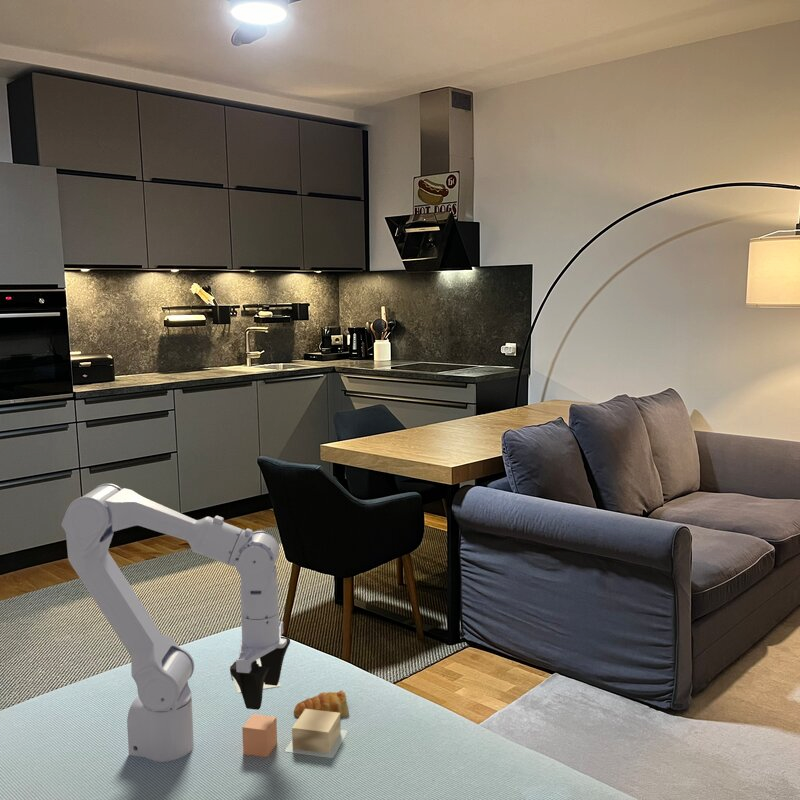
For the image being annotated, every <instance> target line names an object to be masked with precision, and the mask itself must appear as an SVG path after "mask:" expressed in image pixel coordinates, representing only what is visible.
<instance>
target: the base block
mask: <svg viewBox="0 0 800 800" xmlns="http://www.w3.org/2000/svg"><path fill="white" fill-rule="evenodd" d="M341 730H342V728H341V717H340V713H337V712H329V711H321V710H312V709H305V710H304V711H303V713H302V714H301V716H300V717H299V718H297V720H296V721H295V723H294V724H293V726H292V727H291V735H292V737H291V741H292V745H293V749H298V750H306V751H313V752H321V753H329V752H330V751H331V749H332V747H333V746H334V744H335V742H336V740H337V739H338V737H339V735H340V733H341Z"/></svg>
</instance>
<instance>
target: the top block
mask: <svg viewBox="0 0 800 800" xmlns="http://www.w3.org/2000/svg"><path fill="white" fill-rule="evenodd" d="M277 721H278V720H277V716H271V715H263V714H257V713H256V714H255V713H253V714H252V715H251V716H250V717H249V718H248V720H247V721H246V722H245V724H244V725H242V727H241V728H242V729H241V730H242V731H241V732H242V752H243V753H242V754H243V755H246V756H254V757H261V758H268V757H269V756H270V754H271V753H272V751H273V750H274V749H275V747H276V746H277V744H278V728H277V727H278V726H277V723H278V722H277Z"/></svg>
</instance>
